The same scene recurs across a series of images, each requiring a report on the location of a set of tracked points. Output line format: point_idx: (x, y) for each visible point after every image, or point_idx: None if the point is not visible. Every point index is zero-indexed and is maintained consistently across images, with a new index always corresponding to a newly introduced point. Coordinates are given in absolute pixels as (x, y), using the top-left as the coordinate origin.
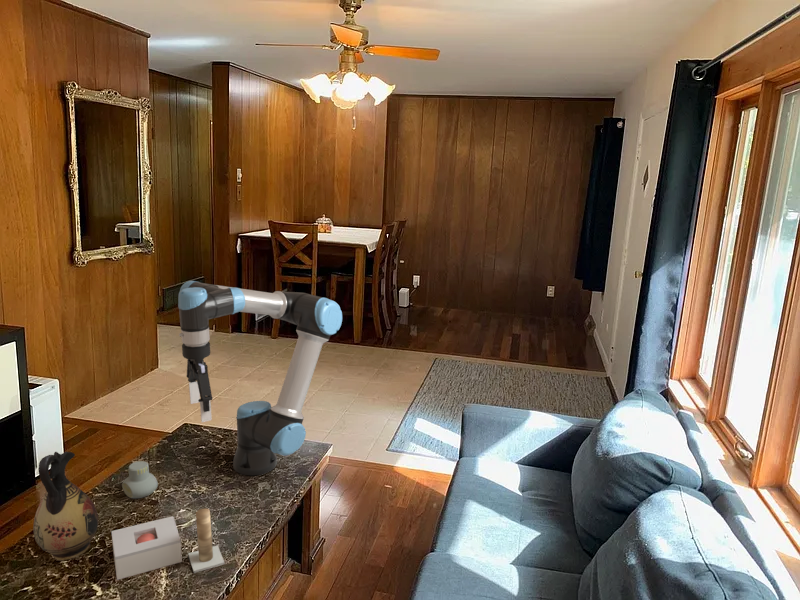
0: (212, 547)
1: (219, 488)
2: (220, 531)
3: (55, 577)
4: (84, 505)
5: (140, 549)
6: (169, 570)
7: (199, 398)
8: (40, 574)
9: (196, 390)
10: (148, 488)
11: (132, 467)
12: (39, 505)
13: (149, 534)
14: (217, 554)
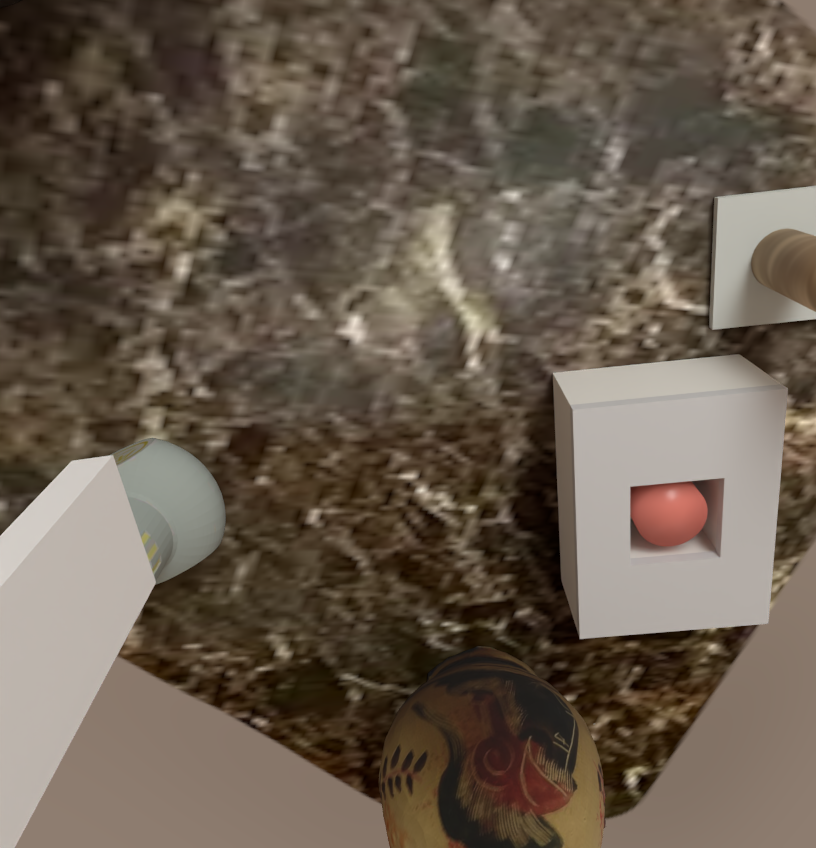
0: (723, 223)
1: (196, 127)
2: (597, 170)
3: (617, 721)
4: (550, 807)
5: (768, 542)
6: None
7: (88, 494)
8: None
9: (17, 641)
10: (203, 486)
11: None
12: None
13: (649, 502)
14: (786, 207)
